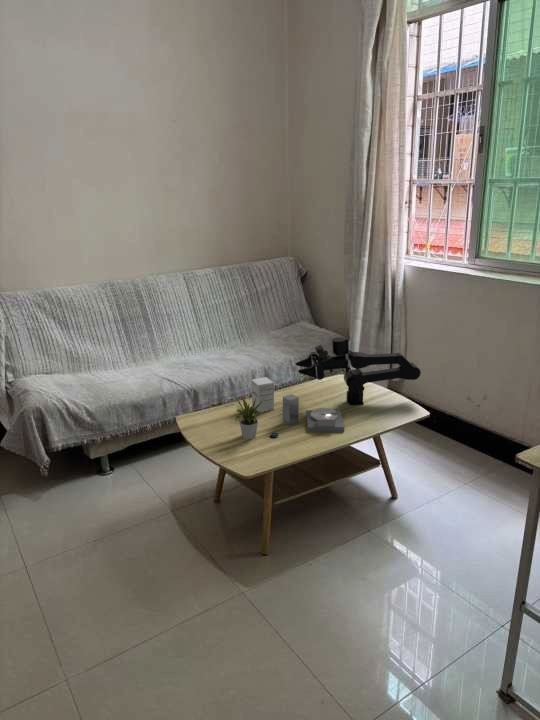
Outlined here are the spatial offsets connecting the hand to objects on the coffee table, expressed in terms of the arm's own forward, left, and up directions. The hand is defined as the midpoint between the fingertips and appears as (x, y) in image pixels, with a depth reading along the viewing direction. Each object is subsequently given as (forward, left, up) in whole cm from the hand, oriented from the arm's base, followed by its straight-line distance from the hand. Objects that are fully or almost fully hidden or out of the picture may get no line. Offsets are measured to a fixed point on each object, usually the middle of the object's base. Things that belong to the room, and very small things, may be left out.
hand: (297, 367), depth 236 cm
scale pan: (-10, +17, -15) cm, 25 cm away
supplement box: (+15, +4, -17) cm, 23 cm away
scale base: (-10, +19, -17) cm, 27 cm away
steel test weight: (+3, +18, -17) cm, 25 cm away
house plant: (+21, +30, -17) cm, 40 cm away
